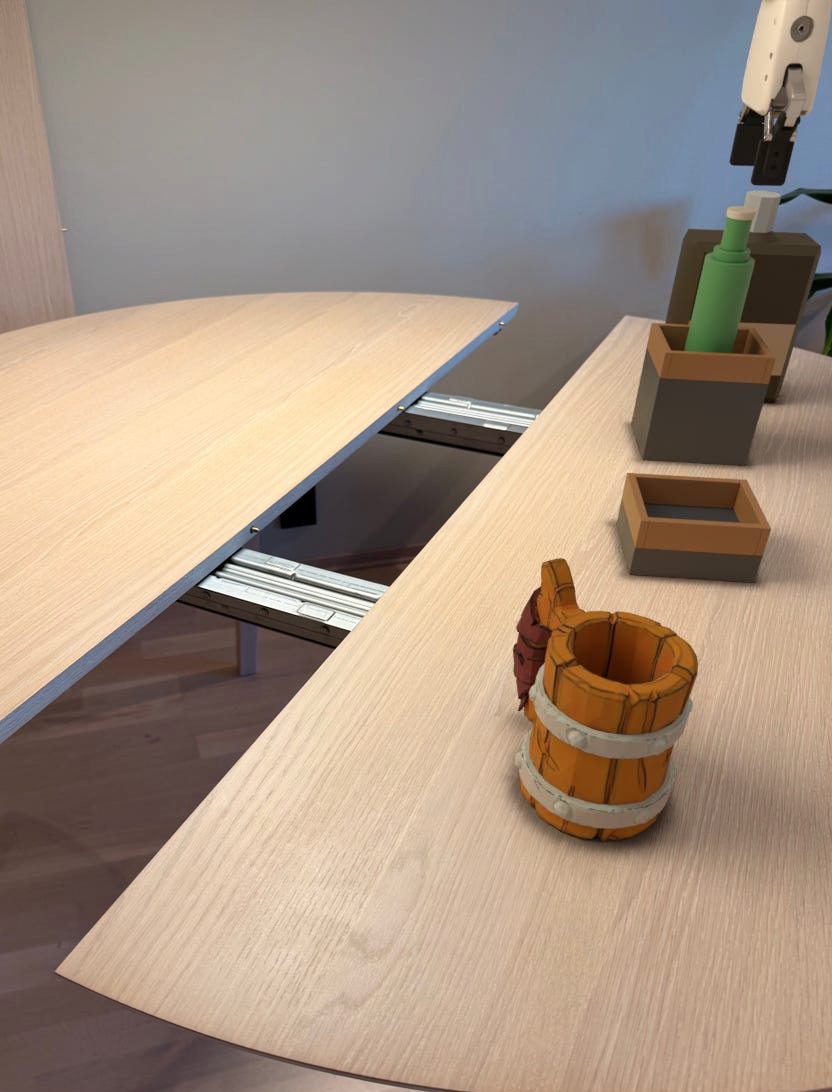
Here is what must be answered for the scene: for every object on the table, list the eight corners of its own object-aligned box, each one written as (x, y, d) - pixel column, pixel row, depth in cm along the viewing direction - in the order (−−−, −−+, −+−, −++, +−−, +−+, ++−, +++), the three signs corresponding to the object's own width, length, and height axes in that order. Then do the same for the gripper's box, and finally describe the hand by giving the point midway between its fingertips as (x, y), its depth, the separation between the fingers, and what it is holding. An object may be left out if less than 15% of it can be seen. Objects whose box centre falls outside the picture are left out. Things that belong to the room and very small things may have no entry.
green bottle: (722, 358, 116) (761, 204, 106) (732, 374, 112) (773, 216, 102) (677, 355, 116) (712, 202, 106) (685, 372, 112) (722, 214, 102)
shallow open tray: (732, 531, 103) (746, 479, 99) (754, 582, 95) (771, 528, 91) (616, 523, 104) (626, 472, 100) (629, 574, 96) (640, 520, 92)
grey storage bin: (727, 430, 123) (754, 327, 116) (745, 465, 115) (776, 358, 108) (630, 424, 124) (651, 322, 116) (642, 459, 116) (665, 352, 108)
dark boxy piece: (649, 377, 137) (690, 184, 122) (765, 382, 137) (820, 188, 122) (661, 399, 131) (705, 199, 116) (782, 405, 130) (842, 204, 115)
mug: (572, 867, 66) (611, 695, 57) (455, 718, 78) (472, 557, 69) (700, 821, 69) (756, 652, 61) (570, 686, 81) (600, 528, 73)
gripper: (872, -20, 84) (816, 194, 95) (814, -28, 98) (771, 159, 108) (782, -20, 85) (736, 192, 95) (738, -29, 99) (702, 157, 109)
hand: (755, 174), depth 102 cm, fingers open, 9 cm apart
